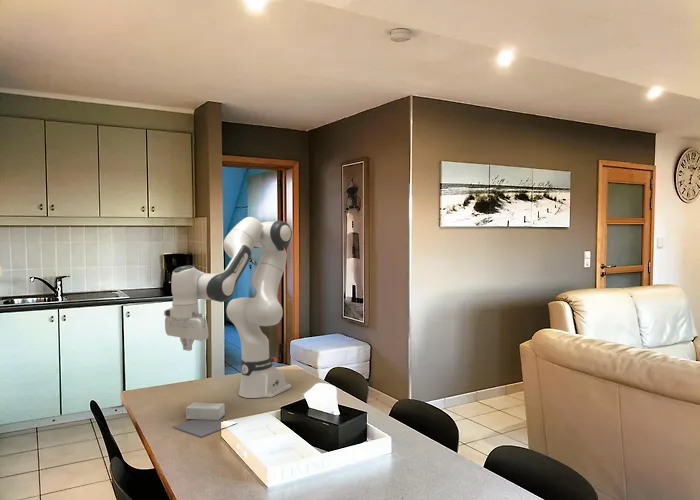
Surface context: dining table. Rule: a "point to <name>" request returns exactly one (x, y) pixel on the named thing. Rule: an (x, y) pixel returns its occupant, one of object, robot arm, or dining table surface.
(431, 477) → the dining table surface
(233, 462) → the dining table surface
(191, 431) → the mat
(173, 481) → the dining table surface
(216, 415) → the skincare box
